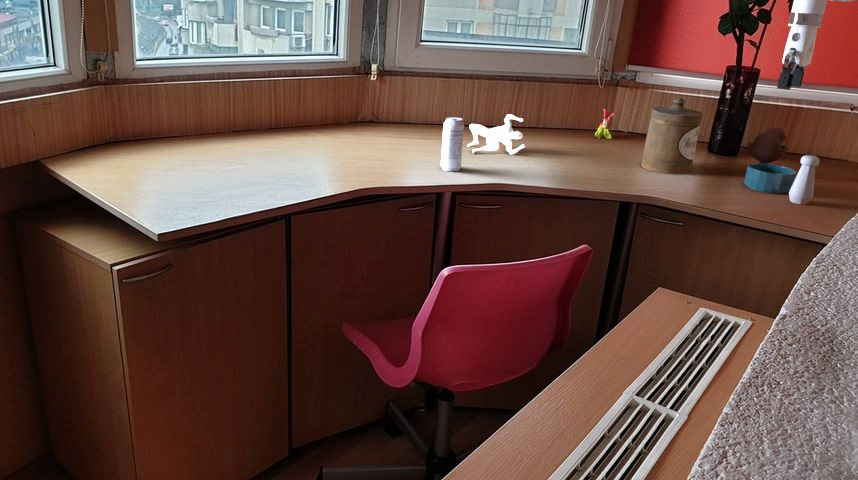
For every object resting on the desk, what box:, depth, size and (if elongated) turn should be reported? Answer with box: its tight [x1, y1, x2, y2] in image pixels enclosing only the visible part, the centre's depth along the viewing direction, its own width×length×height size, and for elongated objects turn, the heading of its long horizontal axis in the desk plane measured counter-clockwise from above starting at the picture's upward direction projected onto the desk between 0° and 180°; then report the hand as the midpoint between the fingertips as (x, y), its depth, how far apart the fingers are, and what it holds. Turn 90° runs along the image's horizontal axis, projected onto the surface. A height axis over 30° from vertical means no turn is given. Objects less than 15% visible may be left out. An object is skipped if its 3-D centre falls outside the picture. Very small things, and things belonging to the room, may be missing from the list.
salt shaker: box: [788, 154, 820, 205], centre depth 193 cm, size 6×6×13 cm
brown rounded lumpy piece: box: [747, 126, 789, 164], centre depth 220 cm, size 11×11×15 cm
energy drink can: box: [440, 116, 465, 172], centre depth 211 cm, size 6×6×15 cm
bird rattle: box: [594, 108, 616, 140], centre depth 264 cm, size 6×11×9 cm
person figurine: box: [466, 113, 526, 156], centre depth 237 cm, size 13×13×18 cm
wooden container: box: [640, 97, 703, 175], centre depth 222 cm, size 15×15×22 cm
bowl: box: [743, 162, 798, 195], centre depth 207 cm, size 13×13×6 cm
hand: (788, 87), depth 194 cm, fingers open, 9 cm apart
